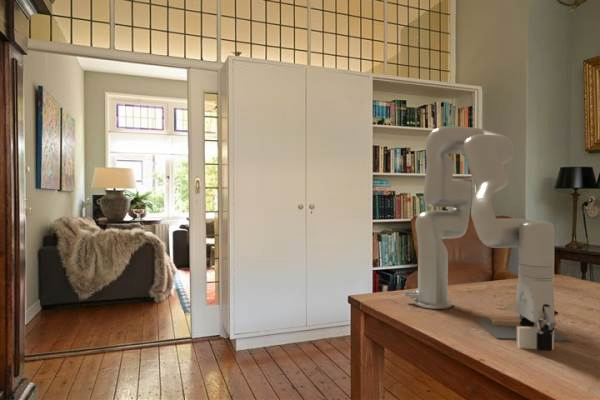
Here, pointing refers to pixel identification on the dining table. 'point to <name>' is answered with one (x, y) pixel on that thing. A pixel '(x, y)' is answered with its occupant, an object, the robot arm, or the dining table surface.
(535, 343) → the tile
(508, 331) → the mat
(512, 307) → the clay tablet
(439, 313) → the dining table surface
